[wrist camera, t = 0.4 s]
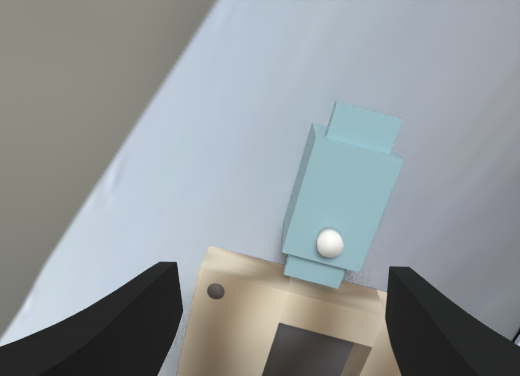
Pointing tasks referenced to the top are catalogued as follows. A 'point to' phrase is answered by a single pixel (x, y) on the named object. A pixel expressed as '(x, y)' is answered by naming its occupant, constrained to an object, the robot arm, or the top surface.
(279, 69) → the top surface
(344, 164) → the servo block
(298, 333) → the plate
